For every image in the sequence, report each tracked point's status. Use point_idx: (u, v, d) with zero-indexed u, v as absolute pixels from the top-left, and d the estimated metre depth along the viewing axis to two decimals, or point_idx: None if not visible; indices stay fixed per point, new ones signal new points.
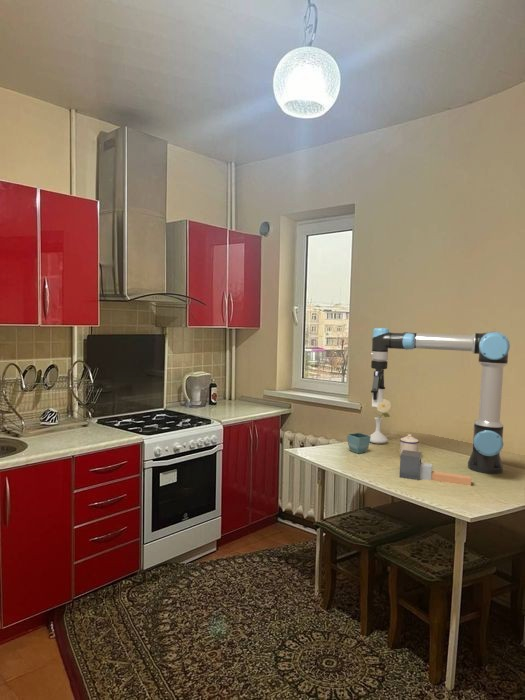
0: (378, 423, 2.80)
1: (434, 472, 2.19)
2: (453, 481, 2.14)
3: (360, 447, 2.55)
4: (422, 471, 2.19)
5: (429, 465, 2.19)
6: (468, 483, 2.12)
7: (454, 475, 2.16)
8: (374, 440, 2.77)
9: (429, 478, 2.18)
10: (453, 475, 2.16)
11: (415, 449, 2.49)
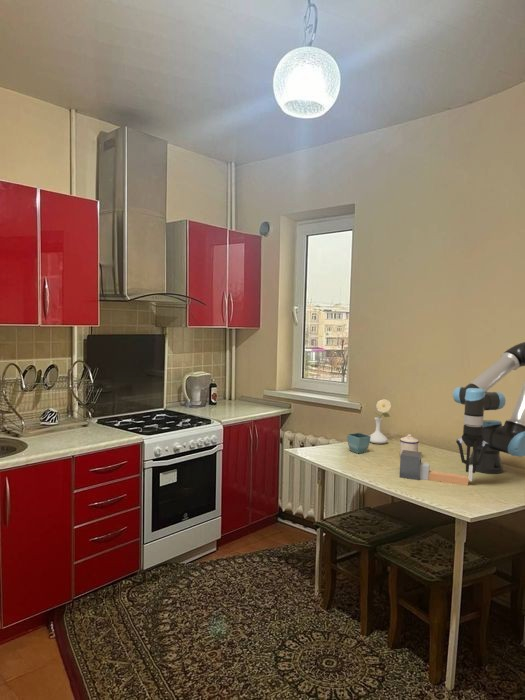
0: (378, 423, 2.80)
1: (431, 471, 2.20)
2: (450, 480, 2.15)
3: (360, 447, 2.55)
4: (419, 471, 2.19)
5: (426, 464, 2.20)
6: (465, 482, 2.13)
7: (451, 474, 2.16)
8: (374, 440, 2.77)
9: (426, 477, 2.18)
10: (450, 474, 2.16)
11: (415, 449, 2.49)
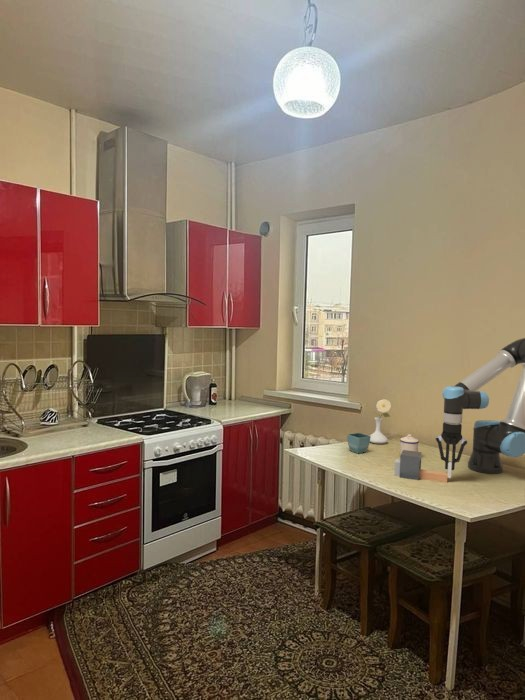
0: (378, 423, 2.80)
1: None
2: (430, 477, 2.18)
3: (360, 447, 2.55)
4: None
5: None
6: (444, 479, 2.16)
7: (431, 472, 2.20)
8: (374, 440, 2.77)
9: None
10: (430, 472, 2.20)
11: (415, 449, 2.49)
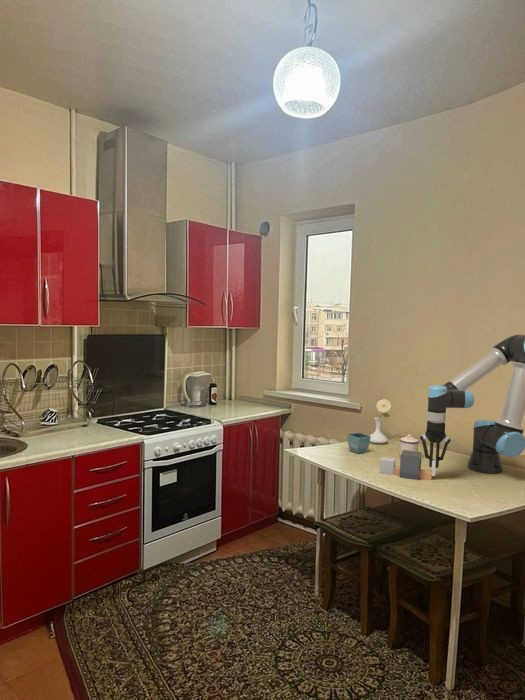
0: (378, 423, 2.80)
1: (397, 466, 2.26)
2: None
3: (360, 447, 2.55)
4: (385, 466, 2.25)
5: (392, 460, 2.25)
6: (428, 477, 2.18)
7: None
8: (374, 440, 2.77)
9: (391, 472, 2.24)
10: None
11: (415, 449, 2.49)
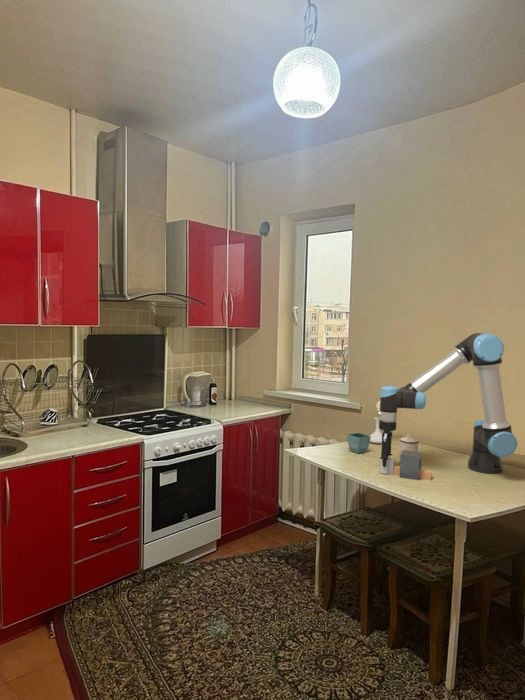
0: (378, 423, 2.80)
1: (396, 467, 2.26)
2: None
3: (360, 447, 2.55)
4: None
5: (391, 460, 2.25)
6: (428, 477, 2.19)
7: None
8: (374, 440, 2.77)
9: (391, 472, 2.24)
10: None
11: (415, 449, 2.49)
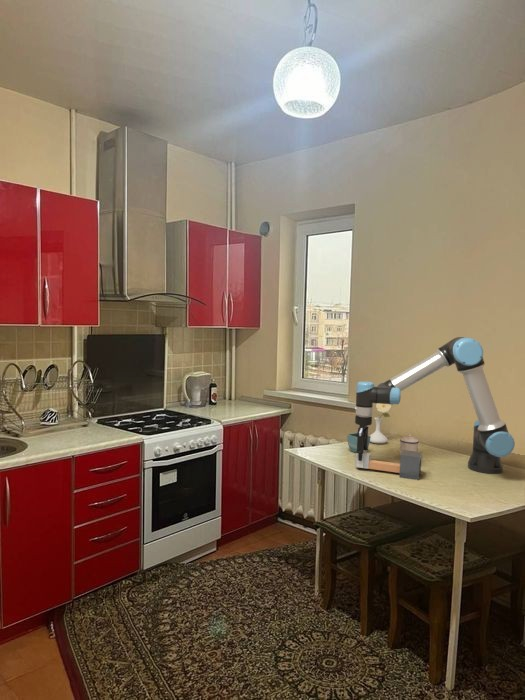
0: (378, 423, 2.80)
1: (372, 461, 2.29)
2: (389, 469, 2.25)
3: None
4: None
5: (367, 454, 2.29)
6: None
7: (390, 463, 2.26)
8: (374, 440, 2.77)
9: (367, 466, 2.28)
10: (389, 463, 2.26)
11: (415, 449, 2.49)
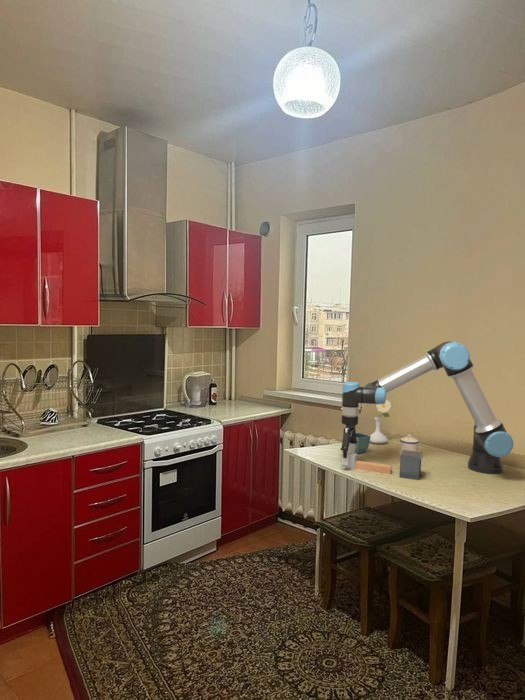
0: (378, 423, 2.80)
1: (358, 461, 2.32)
2: (374, 470, 2.27)
3: (360, 447, 2.55)
4: None
5: (353, 455, 2.32)
6: (387, 471, 2.25)
7: (376, 464, 2.29)
8: (374, 440, 2.77)
9: (353, 467, 2.30)
10: (375, 464, 2.29)
11: (415, 449, 2.49)
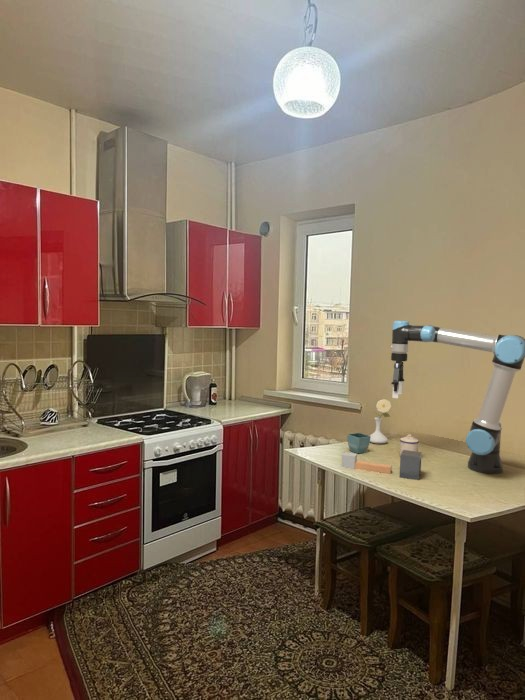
0: (378, 423, 2.80)
1: (358, 461, 2.32)
2: (374, 470, 2.27)
3: (360, 447, 2.55)
4: (346, 461, 2.31)
5: (353, 455, 2.32)
6: (387, 471, 2.25)
7: (376, 464, 2.29)
8: (374, 440, 2.77)
9: (353, 467, 2.30)
10: (375, 464, 2.29)
11: (415, 449, 2.49)
